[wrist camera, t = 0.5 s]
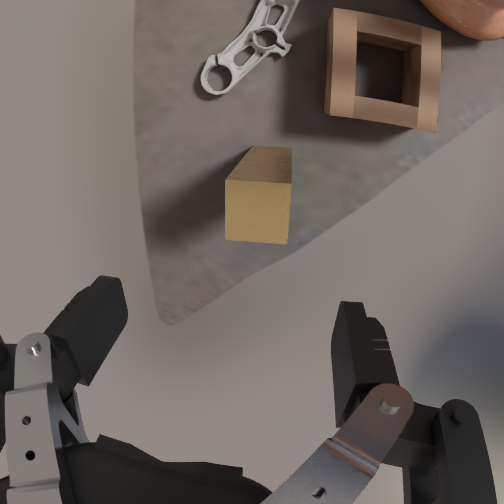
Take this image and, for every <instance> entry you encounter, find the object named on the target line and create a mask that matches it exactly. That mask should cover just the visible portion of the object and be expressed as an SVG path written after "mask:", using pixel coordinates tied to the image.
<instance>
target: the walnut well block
mask: <svg viewBox="0 0 504 504" xmlns="http://www.w3.org/2000/svg"><path fill="white" fill-rule="evenodd" d="M357 42H358V43H364V44H370V45H376V46H381V47H386V48H390V49H395V50H399V51H404V60H403V83H402V99H401V104H400V103H395V102H390V101H385V100H379V99H373V98H367V97H360V96H354V94H355V76H356V49H357ZM440 72H441V31H437V30H434V29H431V28H428V27H424V26H421V25H417V24H414V23H410V22H406V21H402V20H398V19H394V18H389V17H385V16H380V15H375V14H370V13H365V12H359V11H353V10H346V9H339V8H333V10H332V12H331V15H330V17H329V19H328V28H327V64H326V87H325V105H324V113H326V114H328V115H332V116H341V117H349V118H356V119H363V120H370V121H376V122H383V123H388V124H394V125H400V126H405V127H410V128H415V129H420V130H424V131H429V132H433V133H436V126H437V116H438V105H439V91H440Z"/></svg>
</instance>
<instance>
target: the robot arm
mask: <svg viewBox="0 0 504 504" xmlns="http://www.w3.org/2000/svg"><path fill="white" fill-rule="evenodd" d="M127 319H128V309H127V305H126V301H125V297H124V292H123V288H122V283H121V281H120V279H119V278H115V277H109V276H99V277H98V278H97V279H96V280H95V281H94V282H93V283H92V285H91V286H90V287H89V286H88V287H86V288H85V289H83V290H82V291H80V292H78V293H77V294H76V295H75V296H74V298H73V299H72V300H71V301H70V303H68V304H67V306H66V307H65V308H64V310H62V311H61V312H60V314H59V315H58V316H57V317H56V318H55V320H54V321H53V322H52V323H51V324H50V326H49V327H48V328H47V329H46V330H45V332H44V333H32V334H29V335H27V336H25V337H24V338H22V339H21V340H20V342H19V343H18V344H5V343H4V341H3V340H2V338H1V336H0V452H1V450H2V448H3V446H4V444H5V442H6V448H7V459H8V468H9V476H6V477H4V478H2V479H0V504H353V502H354V501H355V500H356V499H357V497H358V496H359V495H360V493H361V492H362V491H363V490H364V488H365V487H366V486H367V484H368V483H369V482H370V480H371V479H372V478H373V476H374V475H375V473H376V472H377V470H378V468H379V465H380V464H381V463H384V464H389V465H393V466H397V467H402V471H403V486H404V488H403V489H404V504H497V499H496V492H495V486H494V480H493V475H492V470H491V465H490V460H489V456H488V451H487V447H486V443H485V439H484V435H483V431H482V427H481V424H480V420H479V417H478V414H477V412H476V410H475V409H474V407H473V406H472V405H471V404H469V403H467V402H466V401H463V400H459V399H454V400H449V401H447V402H446V403H445V404H444V405H443V406H442V407H441V409H440V408H435V407H430V406H425V405H422V404H418V403H416V402H414V401H413V399H412V396H411V395H410V393H409V392H408V391H407V390H405V389H404V388H403V387H401V386H400V385H399V381H398V377H397V373H396V369H395V365H394V361H393V358H392V354H391V351H390V347H389V343H388V341H387V336H386V333H385V329H384V327H383V326H382V325H381V324H380V322H379V321H378V320H377V319H376V318H370V317H366V313H365V309H364V305H363V303H362V302H347V301H341V302H340V305H339V309H338V313H337V317H336V321H335V326H334V330H333V334H332V339H331V358H332V371H333V384H334V399H335V417H336V427H338V428H339V427H340V430H339V431H338V432H337V433H336V434H335V435H334V436H333V437H332V438H328V439H327V440H326V441H325V442H324V443H323V444H322V445H321V446H320V447H319V448H318V449H317V450H316V451H315V452H314V453H313V454H312V455H311V456H310V457H309V458H308V459H307V460H306V461H305V462H304V463H303V464H302V465H301V466H300V467H299V468H298V469H297V470H296V471H295V472H294V473H293V474H292V475H291V476H290V477H289V478H288V479H287V480H286V481H285V482H284V483H283V484H282V485H281V486H279V487H278V488H277V489H276V490H275V491H274V492H271V491H270V490H269V489H268V488H266V487H265V486H263V485H261V484H260V483H257V482H256V481H254V480H252V479H249V478H246V477H243V468H241V467H234V466H227V465H220V464H213V463H208V462H163V461H160V460H158V459H156V458H155V457H153V456H151V455H149V454H147V453H145V452H143V451H142V450H140V449H138V448H136V447H135V446H133V445H131V444H129V443H125V442H122V441H119V440H116V439H113V438H110V437H107V436H104V435H101V434H100V435H99V437H98V439H97V441H96V442H89V440H88V438H87V436H86V433H85V430H84V426H83V422H82V417H81V413H80V408H79V403H78V398H77V393H76V390H75V388H74V387H75V386H76V384H77V383H79V384H82V385H86V386H89V385H90V383H91V382H92V380H93V378H94V376H95V375H96V373H97V371H98V370H99V368H100V366H101V365H102V363H103V361H104V360H105V358H106V356H107V355H108V353H109V351H110V350H111V348H112V346H113V345H114V343H115V341H116V340H117V338H118V337H119V335H120V333H121V332H122V330H123V329H124V327H125V325H126V323H127Z"/></svg>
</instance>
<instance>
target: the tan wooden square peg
mask: <svg viewBox="0 0 504 504" xmlns="http://www.w3.org/2000/svg"><path fill="white" fill-rule="evenodd" d="M291 185H292V148H278V147H260V146H252V148H251V149H250V150H249V151H248V152H247V154H246V155H245V156H244V157H243V158H242V160H241V161H240V162H239V163H238V165H237V166H236V167H235V168H234V170H233V171H232V172H231V173H230V174H229V176H228V177H227V178H226V179H225V240H238V241H251V242H264V243H277V244H287V238H288V225H289V213H290V199H291Z"/></svg>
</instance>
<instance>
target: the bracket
mask: <svg viewBox="0 0 504 504" xmlns="http://www.w3.org/2000/svg"><path fill="white" fill-rule="evenodd" d="M299 2H300V0H260V2H259V4H258V6H257V8H256V11H255V13H254V15H253V18H252V20H251V21H250V23H249V24H248V25H247V27H246V28H245V29H244V31H243V32H242V33H241V34H240V35H239V36H238V37H237V38H236V39H235V40H234V41H232V42H231V43H230V44H229V45H228V46H227V47H226V48H225V49H224V50H223V51H222V52H220V53H218V55H217V56H218V64H219V65H223V66H226V67H227V68H228V69H229V70H230V71H231V74H232V81H231V84H230V85H229V86H228V87H227V88H226V89H225V90H223V91H219V92H217V91H214V90H213V89H212V88H211V87H210V86H209V84H208V81H207V76H208V73H209V72H210V70H211V69H212V68H214V67H216V66H218V64H217V58H216V56H215V55H212V56H210V57H209V58H208V60H207V62H206V64H205V66H204V69H203V71H202V73H201V84H202V86H203V88H204V89H205V90H206V91H207V92H209V93H211V94H214V95H221V94H226V93H229V92H230V91H231V90H232V89H233V88H234V87H235V86H236V85H237V84H238V83H239V82H240V81H241V80H242V79H243V78H244V77H245V76H246V75H247V74H248V73H249V72H250V71H252V70H253V69H254V68H255V67H256V66H257V65H258V64H259V63H260V62H261V61H262V60H263V59H264V58H266V57H267V56H268V55H269V54H270V53H277V54H279V55H281V56H282V57H283V56H284V55H286V54H287V52H288V51H289V50H290V48H291V46H292V44H288V43H285V41H284V39H283V35H284V33H285V30H286V28H287V26H288V24H289V22H290V20H291V18H292V16H293V14H294V12H295V9H296V8H297V6H298V4H299ZM275 5H279V6H282V7H283V8H284V12H283V13H282V15H281V17H280V19H279V20H278V22H277V24H276V25H268V24H267V19H268V15H269V12H270V9H271V7H272V6H275ZM260 25H262V27H260ZM280 28H281V30H280V31H279V29H280ZM264 30H269V31H272V32H274V33H275V34H276V35H277V40H276V42H277V44H278V45H280V46H282V47H283V48H285V50H282V49H280V48H279V47H277V46H276V45H272V46H270V47H262V46H260V45H258V44H257V43H256V37H257V36H256V33H260V32H261V31H264ZM251 38H252V42H249V40H250V39H251ZM248 46H252V47H253V48H254V50H255V53H254V54H253V55H252V56H251V57H250V58H249V59H248V60H247V62H246V63H245V64H244V65H243V66H240V67H238V66H236V64H235V63H234V57H235V56H236V55H237V54H238V53H240V52H241V51H243V50H244V49H245V48H247V47H248ZM260 53H263V55H262V56H259V55H260Z"/></svg>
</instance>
